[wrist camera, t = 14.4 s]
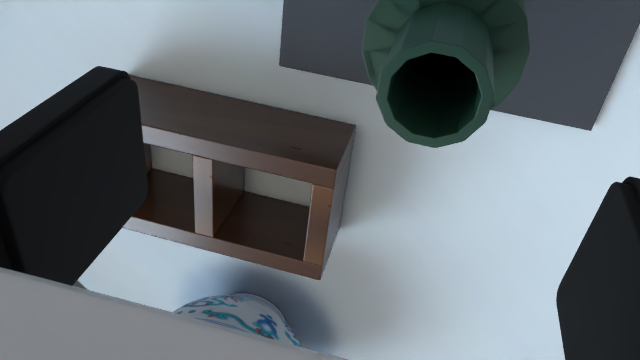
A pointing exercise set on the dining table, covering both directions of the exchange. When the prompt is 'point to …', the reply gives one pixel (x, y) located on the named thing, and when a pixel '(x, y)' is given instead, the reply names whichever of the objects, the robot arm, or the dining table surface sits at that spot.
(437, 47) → the bottle
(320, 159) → the caddy
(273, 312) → the chinaware
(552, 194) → the dining table surface
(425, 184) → the dining table surface
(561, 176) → the dining table surface
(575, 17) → the mat
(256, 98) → the dining table surface
